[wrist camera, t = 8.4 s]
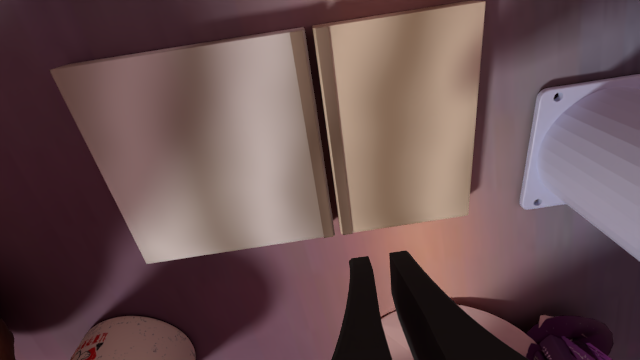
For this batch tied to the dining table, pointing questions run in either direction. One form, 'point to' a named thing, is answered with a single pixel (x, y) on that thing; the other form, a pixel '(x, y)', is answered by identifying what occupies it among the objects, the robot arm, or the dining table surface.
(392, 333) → the mauve lumpy shape
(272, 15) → the dining table surface
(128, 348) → the teacup with lid
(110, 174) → the beige flat square block
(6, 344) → the butternut squash
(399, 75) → the laid board
